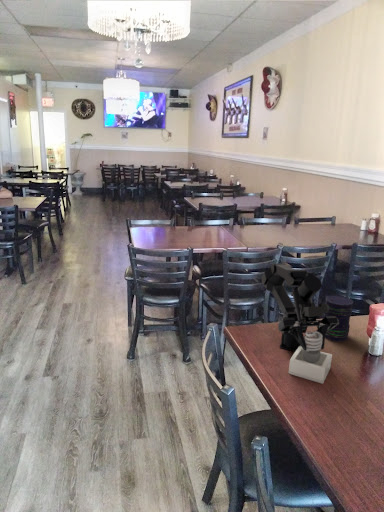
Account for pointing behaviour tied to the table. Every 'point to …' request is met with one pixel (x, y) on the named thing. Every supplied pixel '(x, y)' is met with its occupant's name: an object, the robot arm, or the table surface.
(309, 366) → the white open box
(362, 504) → the table surface
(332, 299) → the storage jar
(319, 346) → the light bulb
